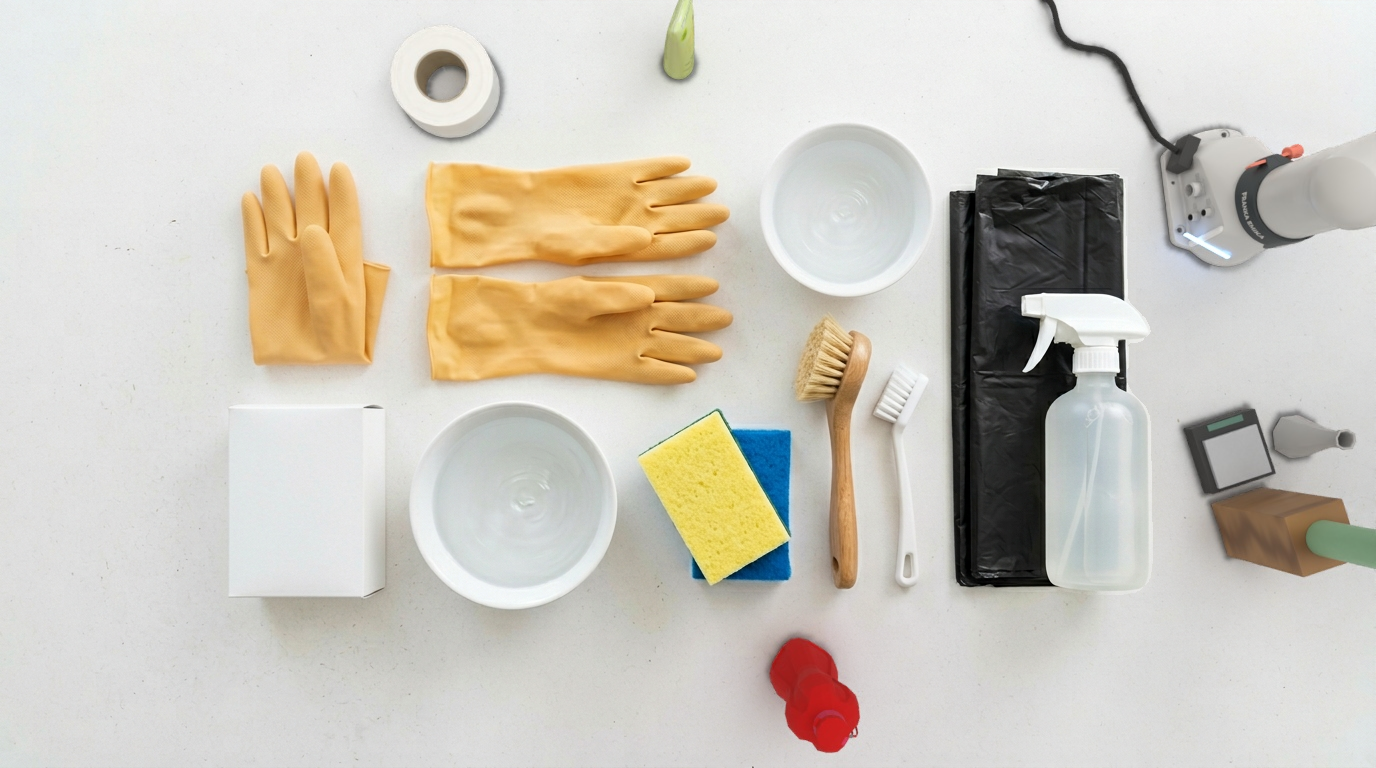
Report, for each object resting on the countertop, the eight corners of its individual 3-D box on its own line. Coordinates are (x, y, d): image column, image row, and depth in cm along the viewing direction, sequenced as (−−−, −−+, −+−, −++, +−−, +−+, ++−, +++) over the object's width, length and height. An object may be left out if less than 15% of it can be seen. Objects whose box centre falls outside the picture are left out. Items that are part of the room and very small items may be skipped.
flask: (1309, 462, 126) (1365, 468, 116) (1267, 453, 126) (1319, 458, 116) (1317, 419, 126) (1373, 421, 116) (1275, 410, 126) (1327, 411, 116)
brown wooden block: (1210, 503, 126) (1284, 517, 111) (1261, 486, 126) (1342, 498, 111) (1227, 556, 125) (1303, 577, 110) (1279, 539, 126) (1361, 558, 111)
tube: (700, 76, 125) (706, 16, 105) (671, 88, 125) (672, 31, 105) (686, 44, 125) (689, -22, 105) (657, 56, 125) (656, -7, 105)
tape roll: (493, 35, 124) (485, 18, 118) (506, 131, 124) (498, 119, 118) (396, 47, 123) (383, 30, 118) (408, 143, 123) (396, 131, 118)
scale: (1183, 428, 126) (1194, 429, 123) (1245, 408, 126) (1257, 408, 123) (1204, 492, 126) (1215, 494, 123) (1266, 472, 126) (1279, 473, 123)
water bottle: (818, 713, 123) (857, 792, 98) (760, 677, 123) (784, 747, 98) (849, 663, 123) (895, 730, 98) (791, 627, 123) (822, 685, 98)
